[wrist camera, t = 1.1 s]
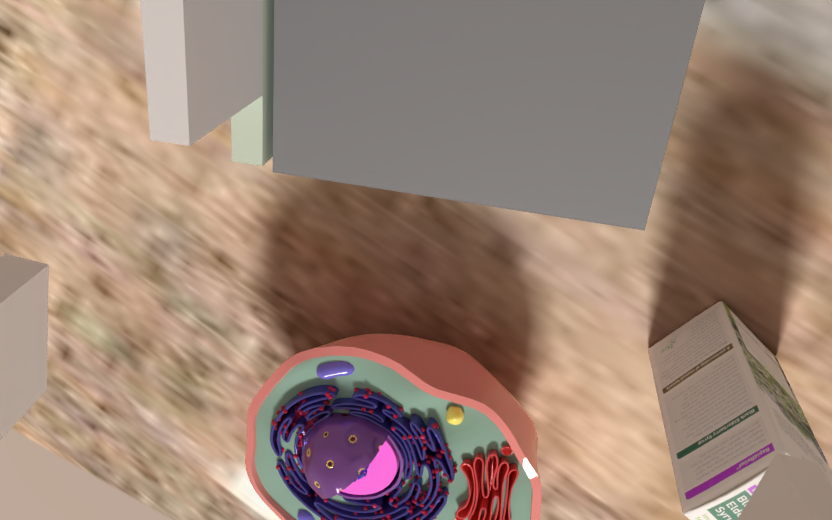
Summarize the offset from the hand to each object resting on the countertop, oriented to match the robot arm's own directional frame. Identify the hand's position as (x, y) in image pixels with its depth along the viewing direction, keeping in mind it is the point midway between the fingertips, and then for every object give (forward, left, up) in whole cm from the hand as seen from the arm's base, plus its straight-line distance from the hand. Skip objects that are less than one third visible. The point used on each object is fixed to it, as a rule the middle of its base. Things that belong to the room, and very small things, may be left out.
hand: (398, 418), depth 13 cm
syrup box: (-15, +16, -31) cm, 38 cm away
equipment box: (+1, -6, -31) cm, 32 cm away
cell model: (+3, +24, -31) cm, 40 cm away
